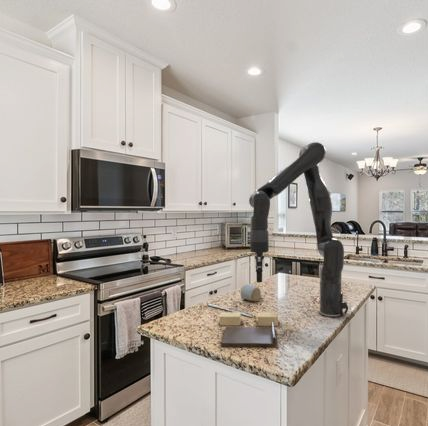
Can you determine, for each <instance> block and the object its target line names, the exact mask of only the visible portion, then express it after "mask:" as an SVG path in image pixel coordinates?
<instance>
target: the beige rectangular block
mask: <svg viewBox="0 0 428 426" xmlns="http://www.w3.org/2000/svg"><path fill="white" fill-rule="evenodd" d="M271 322H274V327H279V314H278V312H257V327H271Z"/></svg>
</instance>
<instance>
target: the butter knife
mask: <svg viewBox="0 0 428 426" xmlns="http://www.w3.org/2000/svg"><path fill="white" fill-rule="evenodd" d="M206 305H207V306H210V307H213V308H217V309H221V310H224V311H228V312H239V313H241V315H244V316H247V317H253V315H251V314H249V313H246V312H242V311H238V310H233V309H229V308H226V307H222V306H219V305H216V304H213V303H207V304H206Z"/></svg>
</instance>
